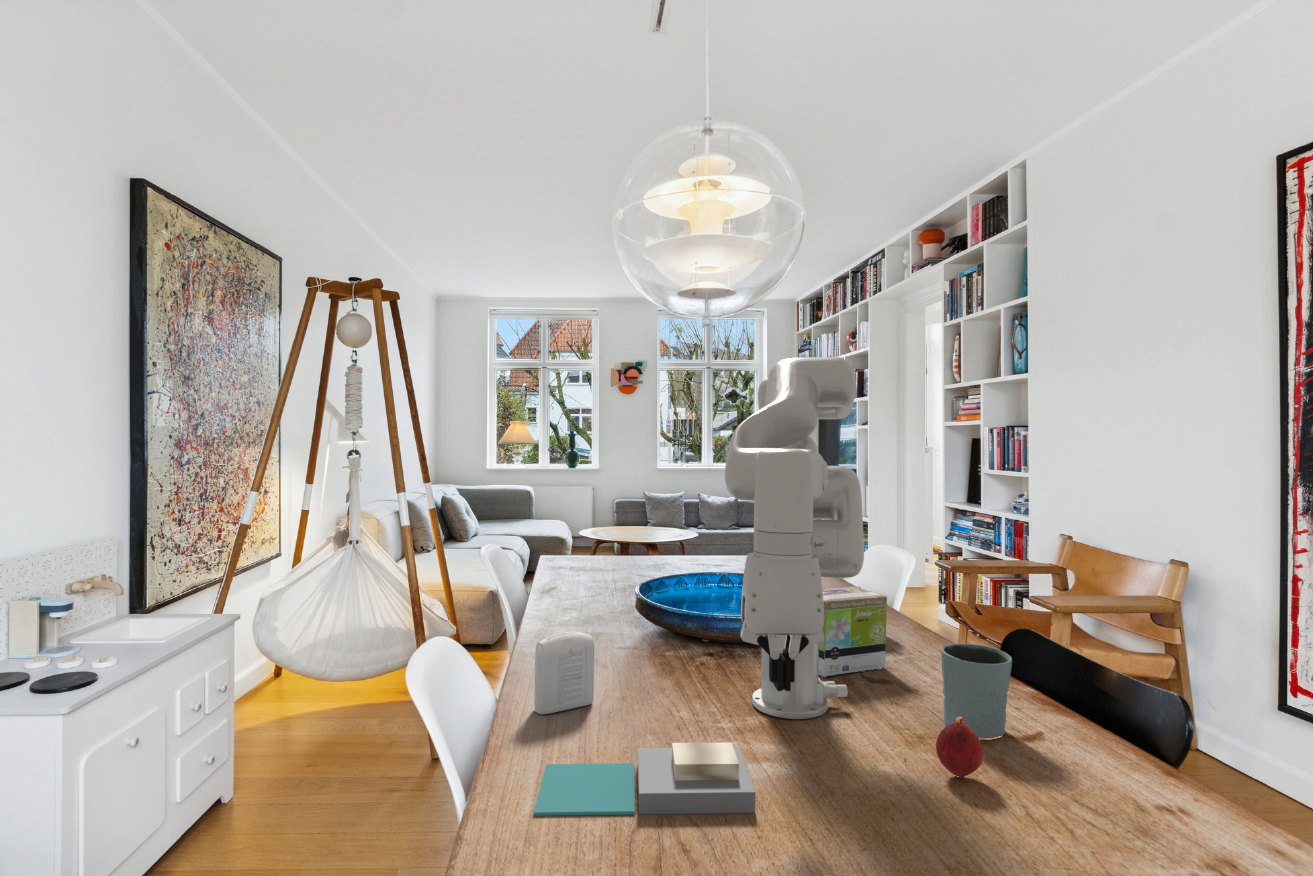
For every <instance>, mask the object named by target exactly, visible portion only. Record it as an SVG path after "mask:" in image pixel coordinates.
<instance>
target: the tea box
mask: <svg viewBox="0 0 1313 876" xmlns="http://www.w3.org/2000/svg"><path fill="white" fill-rule="evenodd" d="M858 587H859V586H858ZM858 587H856V586H847V587H831V588H822V590H823V602H824V626H823V634H824V641H822V642H819V669H818V676H820V677H823V678H826V677H829V676H830V677H831V676H836V675H842V674H843V675H844V674H849V673H857V672H859V671H860V672H867V671H866V670H868V671H875V670H874V669H877V670H880V669H879V668H884V669H885V668H886V647H887V646H886V645H887V616H888V615H887V612H888V611H887V608H888V607H887V606H888V603H887V601H888V597H887V596H886V595H884V594H882V593H880V594H877V593H878V592H877V593H874V592H875V591H872V592H871V590H867V589H865V588H858ZM881 594H882V595H881Z"/></svg>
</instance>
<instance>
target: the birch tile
mask: <svg viewBox="0 0 1313 876" xmlns="http://www.w3.org/2000/svg"><path fill="white" fill-rule="evenodd" d="M734 747H735V746H734V745H733V742H730V741H729V742H724V741H723V742H672V743H671V748H672V762H673V770H674V777H675V780H739V762H738V759H737V756H736V753H735V750H734Z"/></svg>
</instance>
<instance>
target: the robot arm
mask: <svg viewBox="0 0 1313 876" xmlns="http://www.w3.org/2000/svg"><path fill="white" fill-rule="evenodd" d="M856 379H857V378H856V373H855V370H854V368H853V366H852V364H851V363H850V361H848V360H846V359H844V358H842V357H838V356H826V357H825V356H819V357H816V356H815V357H814V356H813V357H792V358H791V357H789V358H786V359H785V358H784V359H781V360H780V361H778V362H777V363H775V364H774V365H773V366H772V368H771V369H770V371H769V373H768V376H767V378H764V380H762V381H761V382H760V384H759V386H758V391H757V405H758V410H757V411H755V412H754V413H753V414H751V415H750V416H748V417H747V418H745V419H744V420H743V421H742V422H741V423H739V424H738V426H737V427H736V428H735V429H734V431H733V433H732V435H731V437H730V441H729V445H728V451H727V455H726V460H725V468H724V469H725V470H724V480H725V481H724V482H725V485H726V488H727V492H729V494H730V495H731V496H732V497H733V498H735V499H737V500H740V501H748V502H749V501H750V502H751V501H752V502H754V505H753V529H754V530H753V552H748V553H747V554H746V559H745V565H744V570H743V577H742V587H741V601H740V603H741V605H740V619H741V623H742V627H741V630H740V634H739V636H740V639H741V641H743V642H744V643H749V644H752V645H758V646H760V648H761V666H760V667H761V668H760V670H761V672H760V673H761V681H760V682H761V684H760V686H761V687H760V688H758V689H757V690H755V691H754V692H753V693H752V695H751V703H752V705H753V707H755V709H757V710H758V711H759V712H762V713H764V714H765V715H769V716H772V717H775V718H782V719H789V720H808V719H813V718H816V717H820V716H822V715H824V714H825V713H826V712H827V710H828V706H829V705H828V703H829V702H828V699H829V697H835V698H841V697H843V698H844V697H848V686H847V685H846V684H836V682H835V680H827V681H822V680H821V678H820V677H819V674H818V669H819V642H822V641H824V634H823V626H824V602H823V590H822V589H823V582H822V578H839V579H845V578H846V579H848V578H849V579H850V578H854V577H856V576H858V575H859V574H860V573H861V571H862V569H863V565H864V560H865V545H864V544H865V541H864V538H865V537H864V524H863V523H864V519H863V500H862V499H863V497H862V490H861V489H862V488H861V482H860V479H859V477H858V474H857V473H856V472H855V471H854V469H852V468H850V467H846V466H841V465H828V463H827V461H825V459H824V458H823V456H822V455H821V453H819V452H818V446H817V445H816V442H815V441H814V440H813V438H812V437H811V436H810V435H812V434H813V432H814V431H815V429H816V427H817V424H818V421H819V420H842V419H845V418H847V417H848V416H849V415H850V413H851V412H852V410H853V406H854V401H855V398H856V394H857V380H856ZM823 713H824V714H823Z"/></svg>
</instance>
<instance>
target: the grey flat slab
mask: <svg viewBox="0 0 1313 876" xmlns="http://www.w3.org/2000/svg"><path fill="white" fill-rule="evenodd" d="M733 747H734V750H735V753H736V756H737V759H738V762H739V780H675V777H674V770H673V762H672V747H637V786H638V787H637V788H638V789H637V790H638V791H637V792H638V793H637V794H638V796H637V798H638V815H691V814H692V815H694V814H695V815H696V814H697V815H698V814H753V813H754V814H756V790H755V788H754V785H753V781H752V779H751V776H750V773H749V771H748V768H747V765H746V761H745V758H744V756H743V753H742V751H741V748H740V747H738V746H733Z"/></svg>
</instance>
